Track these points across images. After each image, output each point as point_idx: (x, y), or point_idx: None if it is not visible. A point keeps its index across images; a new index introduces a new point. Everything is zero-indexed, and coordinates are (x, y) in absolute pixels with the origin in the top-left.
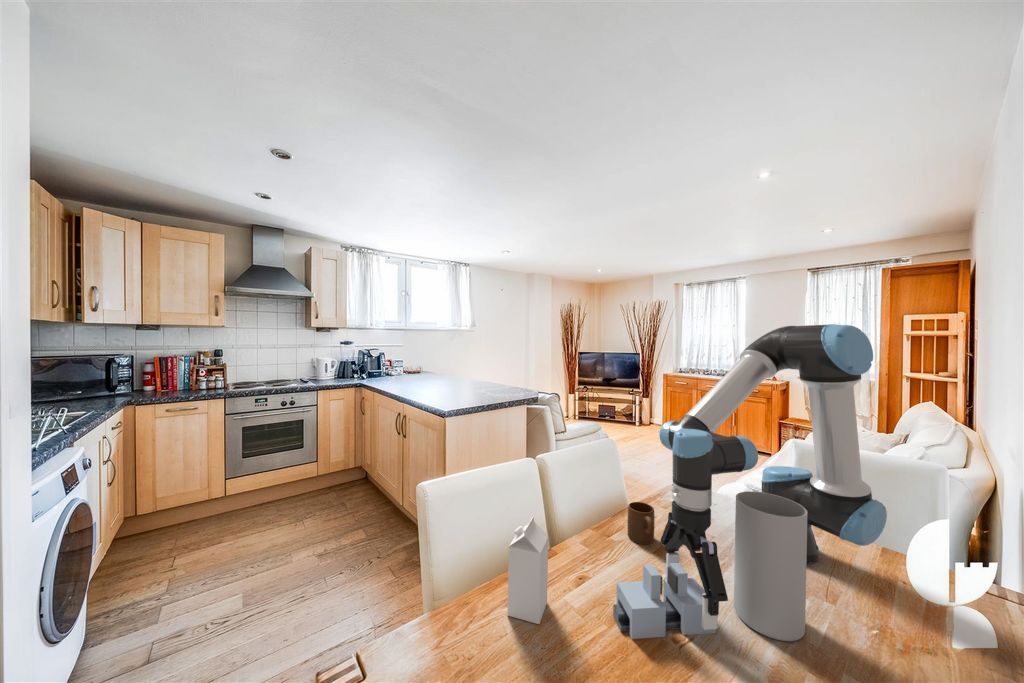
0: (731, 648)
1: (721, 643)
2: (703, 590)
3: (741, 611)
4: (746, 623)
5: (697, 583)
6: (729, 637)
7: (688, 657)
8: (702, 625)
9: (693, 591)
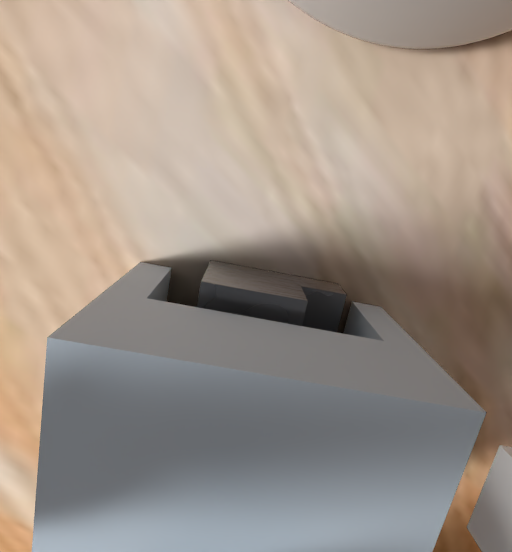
0: (494, 312)
1: (448, 337)
2: (276, 388)
3: (404, 24)
4: (427, 48)
5: (154, 366)
6: (436, 257)
7: (442, 541)
8: (479, 538)
9: (259, 498)
